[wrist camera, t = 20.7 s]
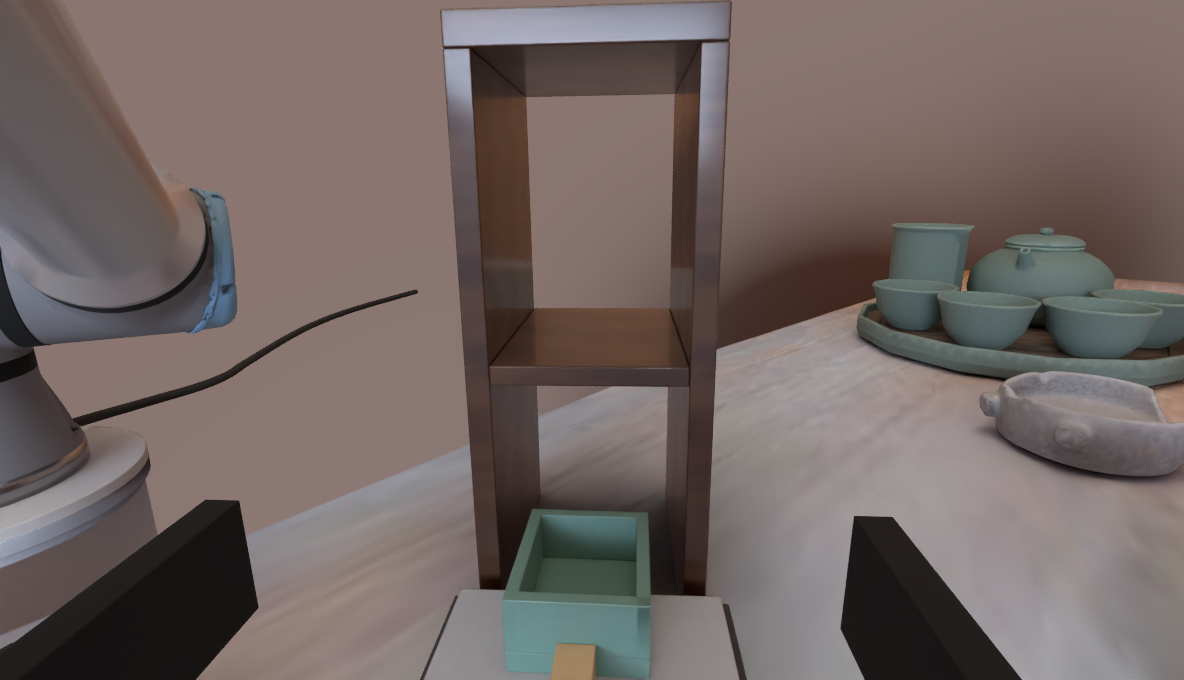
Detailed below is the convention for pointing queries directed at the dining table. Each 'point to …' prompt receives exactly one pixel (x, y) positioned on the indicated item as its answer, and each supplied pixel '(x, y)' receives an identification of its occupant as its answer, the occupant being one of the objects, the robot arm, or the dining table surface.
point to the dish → (1087, 422)
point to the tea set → (1020, 310)
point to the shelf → (504, 251)
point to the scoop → (580, 596)
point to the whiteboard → (677, 676)
